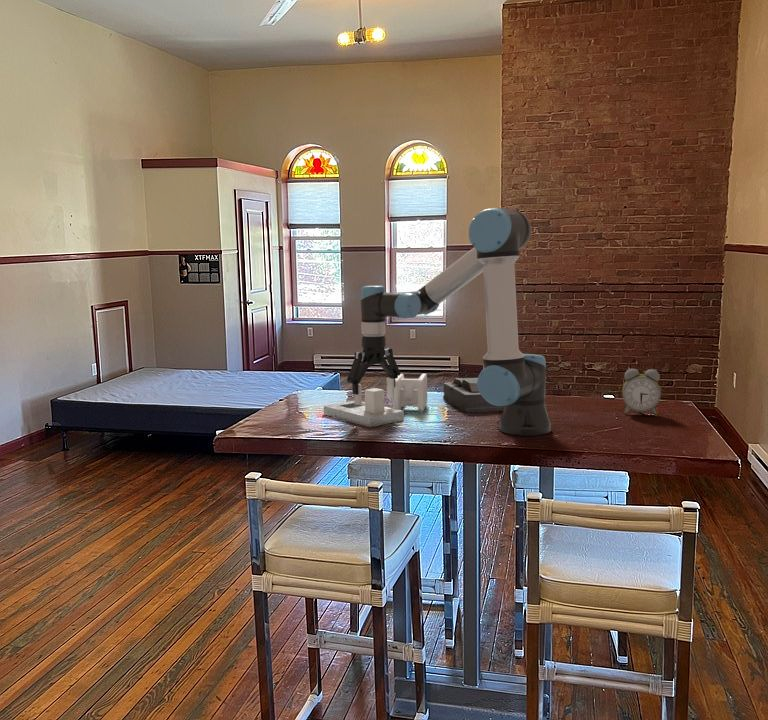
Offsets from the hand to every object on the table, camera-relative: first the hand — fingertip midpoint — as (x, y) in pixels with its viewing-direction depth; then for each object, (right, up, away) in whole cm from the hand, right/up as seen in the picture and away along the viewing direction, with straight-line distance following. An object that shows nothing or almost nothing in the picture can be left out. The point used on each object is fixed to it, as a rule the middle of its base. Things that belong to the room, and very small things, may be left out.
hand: (374, 401), depth 233 cm
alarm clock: (+86, -5, +4) cm, 86 cm away
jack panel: (-4, -6, +5) cm, 9 cm away
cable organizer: (+12, -4, +16) cm, 20 cm away
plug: (0, -6, +1) cm, 6 cm away
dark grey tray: (+36, -3, +23) cm, 43 cm away
